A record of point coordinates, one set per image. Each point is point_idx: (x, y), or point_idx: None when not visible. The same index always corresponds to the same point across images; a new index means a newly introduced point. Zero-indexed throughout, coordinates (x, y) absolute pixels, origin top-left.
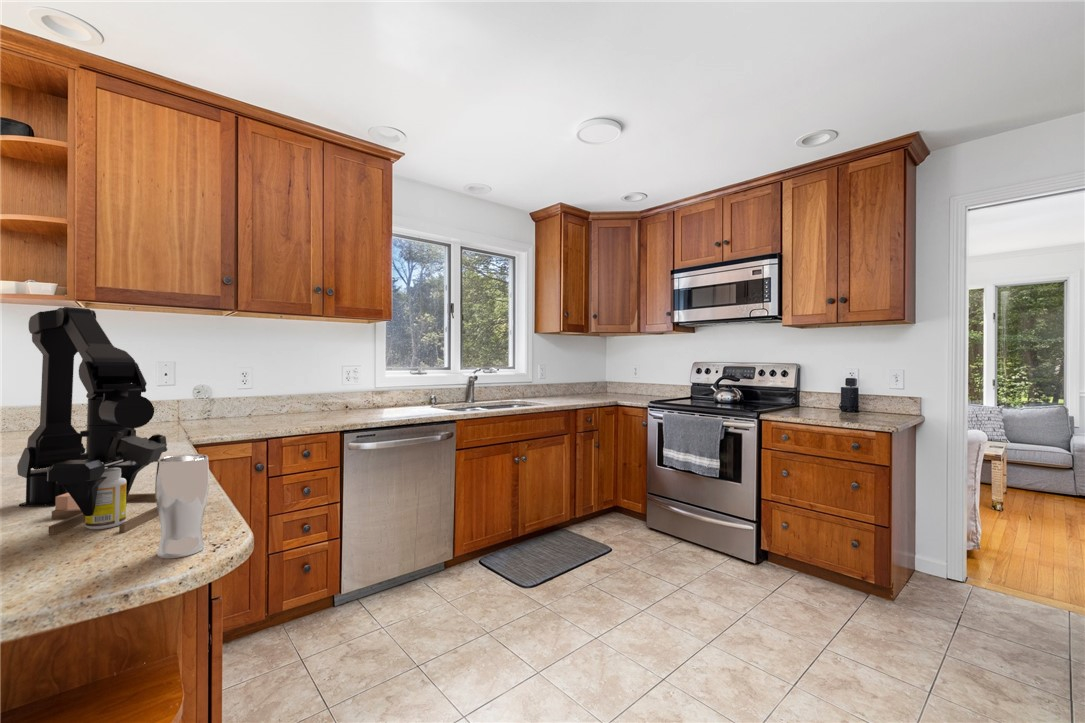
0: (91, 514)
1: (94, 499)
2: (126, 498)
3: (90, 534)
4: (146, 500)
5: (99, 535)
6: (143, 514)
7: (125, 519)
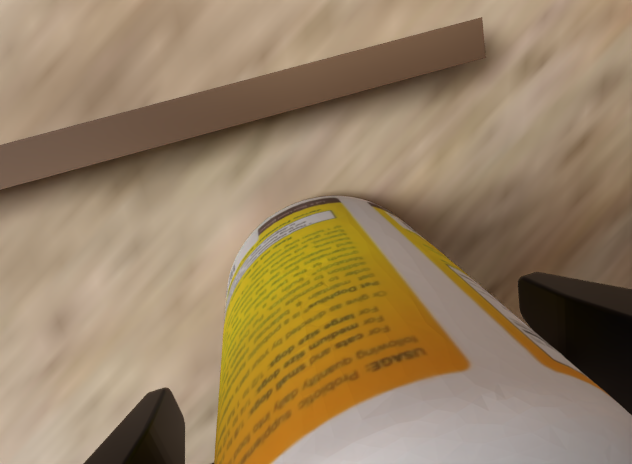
0: (543, 274)
1: None
2: (136, 407)
3: (477, 215)
4: None
5: (494, 147)
6: (229, 97)
7: (268, 218)
